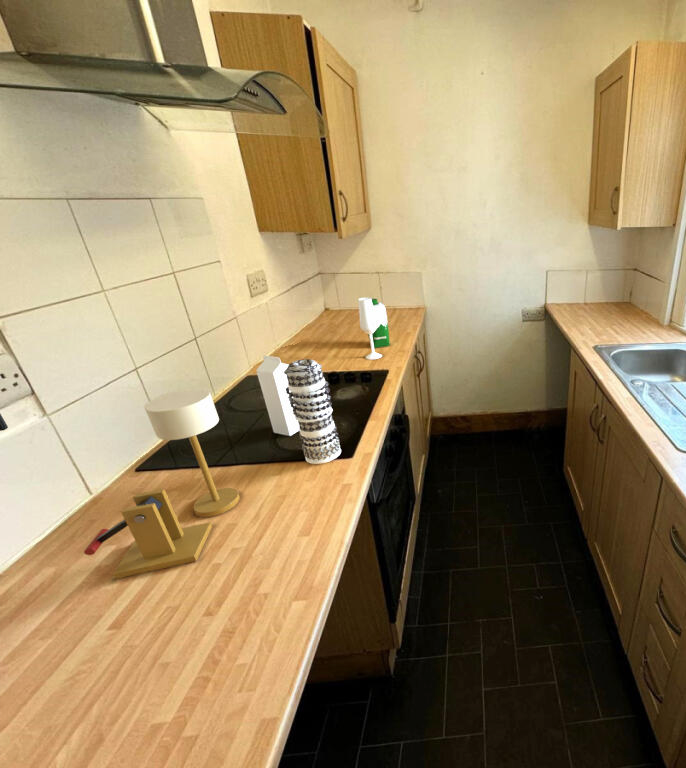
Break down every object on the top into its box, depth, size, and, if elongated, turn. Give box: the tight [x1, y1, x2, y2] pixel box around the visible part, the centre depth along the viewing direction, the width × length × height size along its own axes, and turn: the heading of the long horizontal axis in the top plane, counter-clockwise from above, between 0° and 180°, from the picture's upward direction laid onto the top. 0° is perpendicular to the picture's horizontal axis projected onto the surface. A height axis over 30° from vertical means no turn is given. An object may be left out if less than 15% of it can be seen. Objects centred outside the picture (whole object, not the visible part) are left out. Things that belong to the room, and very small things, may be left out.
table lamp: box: [144, 387, 240, 518], centre depth 84 cm, size 10×10×25 cm
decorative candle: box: [284, 358, 342, 465], centre depth 101 cm, size 9×9×25 cm
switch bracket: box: [112, 488, 213, 580], centre depth 74 cm, size 12×9×12 cm
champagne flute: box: [357, 297, 383, 360], centre depth 167 cm, size 7×7×24 cm
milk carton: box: [367, 298, 390, 349], centre depth 182 cm, size 9×9×20 cm
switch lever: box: [83, 496, 162, 556], centre depth 72 cm, size 12×5×2 cm, turn 108°
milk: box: [255, 355, 300, 437], centre depth 113 cm, size 6×6×22 cm
